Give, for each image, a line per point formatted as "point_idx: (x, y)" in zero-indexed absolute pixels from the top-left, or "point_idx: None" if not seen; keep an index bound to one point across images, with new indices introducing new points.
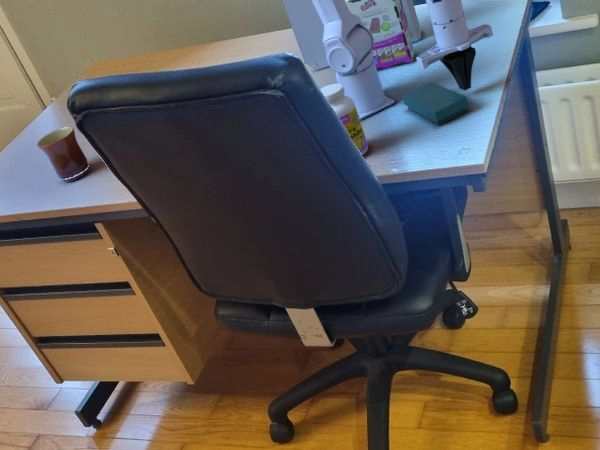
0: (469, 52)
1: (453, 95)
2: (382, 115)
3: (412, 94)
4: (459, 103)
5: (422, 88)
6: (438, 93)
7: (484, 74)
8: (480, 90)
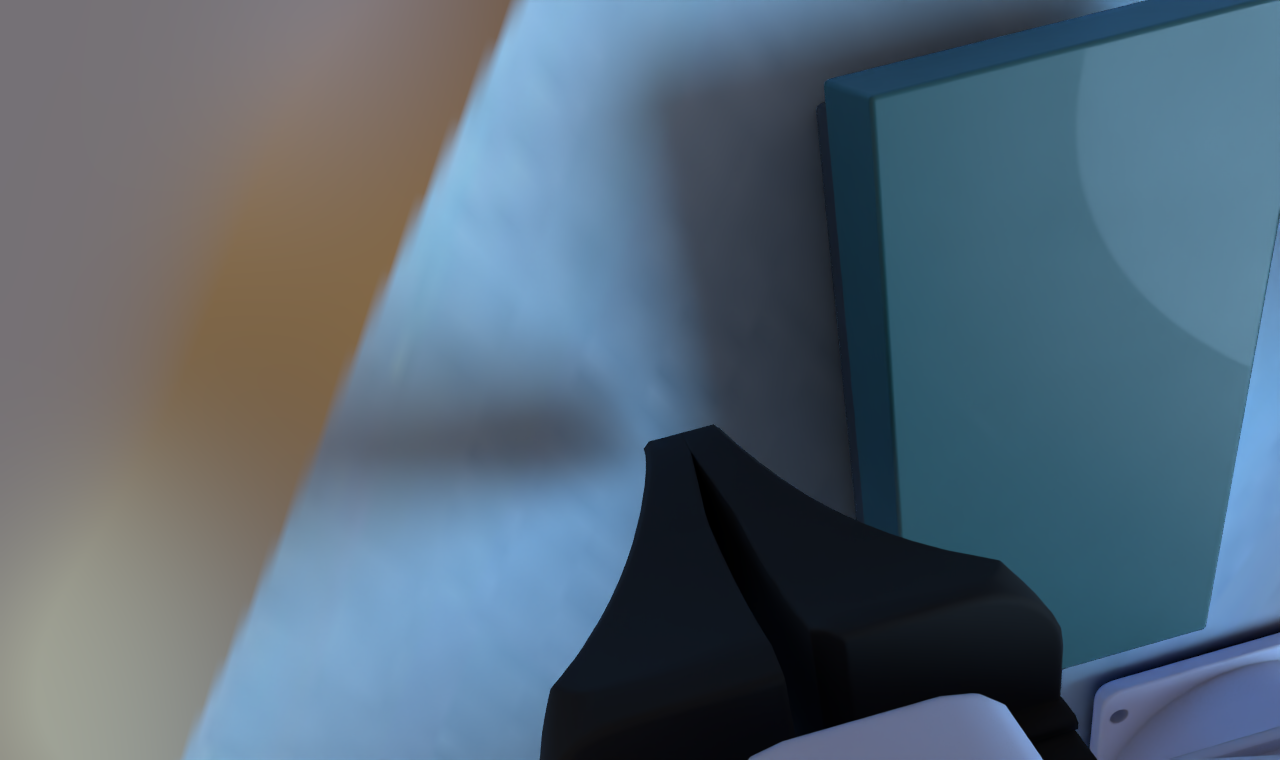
0: (696, 705)
1: (945, 269)
2: (1240, 579)
3: (1145, 597)
4: (962, 63)
5: None
6: (1011, 442)
7: (413, 690)
8: (540, 447)
